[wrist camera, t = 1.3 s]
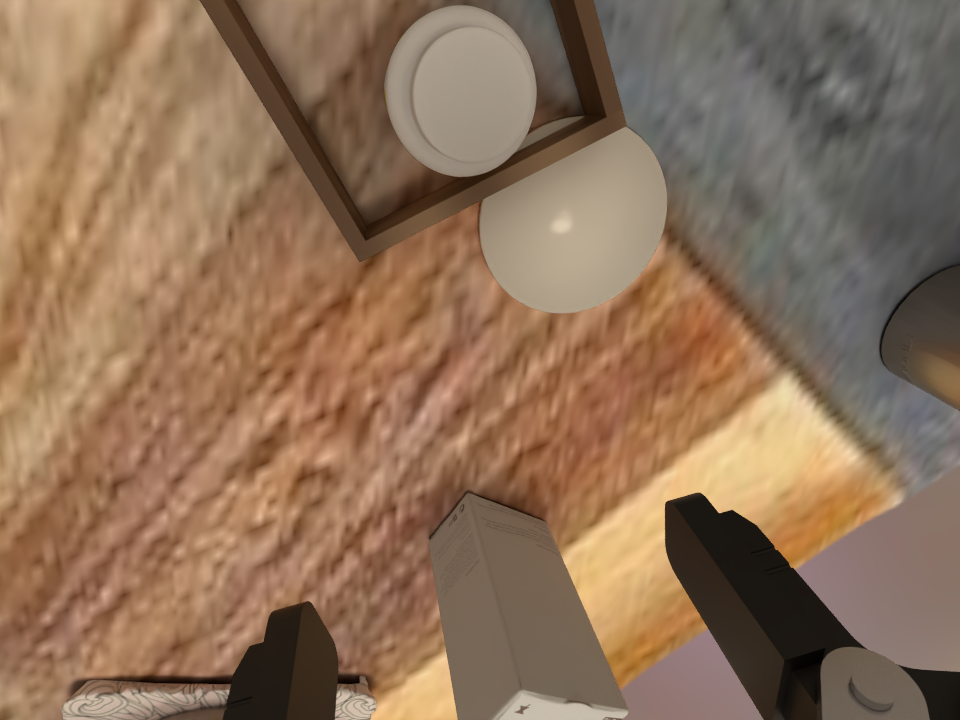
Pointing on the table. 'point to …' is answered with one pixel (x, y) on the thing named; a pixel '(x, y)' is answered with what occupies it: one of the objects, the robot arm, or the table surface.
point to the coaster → (576, 223)
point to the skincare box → (516, 621)
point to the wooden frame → (365, 241)
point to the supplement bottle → (460, 91)
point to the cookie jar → (185, 701)
